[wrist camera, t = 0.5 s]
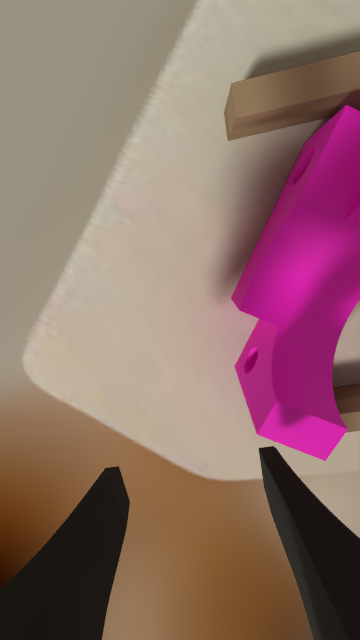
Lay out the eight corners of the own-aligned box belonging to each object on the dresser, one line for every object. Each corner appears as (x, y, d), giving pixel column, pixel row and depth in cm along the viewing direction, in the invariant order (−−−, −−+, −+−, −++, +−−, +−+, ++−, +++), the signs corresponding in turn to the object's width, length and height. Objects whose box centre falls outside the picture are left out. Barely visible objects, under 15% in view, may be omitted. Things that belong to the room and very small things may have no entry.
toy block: (305, 141, 16) (396, 59, 9) (396, 184, 16) (554, 138, 9) (204, 354, 20) (210, 416, 13) (279, 384, 21) (325, 460, 13)
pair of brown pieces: (365, 78, 15) (405, 39, 12) (367, 400, 21) (396, 425, 18) (224, 112, 16) (231, 83, 13) (263, 415, 21) (274, 441, 18)
